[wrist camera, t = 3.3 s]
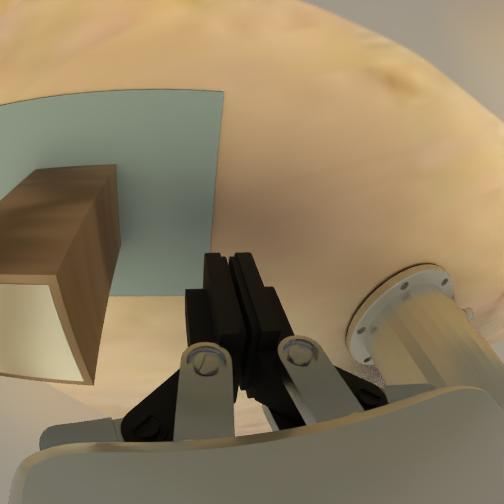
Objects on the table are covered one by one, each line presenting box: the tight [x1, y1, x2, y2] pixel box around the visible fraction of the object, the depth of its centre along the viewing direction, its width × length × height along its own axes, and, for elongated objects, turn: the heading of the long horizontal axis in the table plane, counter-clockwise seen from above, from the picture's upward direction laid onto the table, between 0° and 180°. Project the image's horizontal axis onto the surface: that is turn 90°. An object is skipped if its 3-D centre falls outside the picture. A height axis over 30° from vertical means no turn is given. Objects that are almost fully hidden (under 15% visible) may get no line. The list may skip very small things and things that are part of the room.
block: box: [0, 164, 121, 385], centre depth 12 cm, size 5×5×10 cm
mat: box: [0, 89, 224, 296], centre depth 16 cm, size 21×13×1 cm, turn 83°
